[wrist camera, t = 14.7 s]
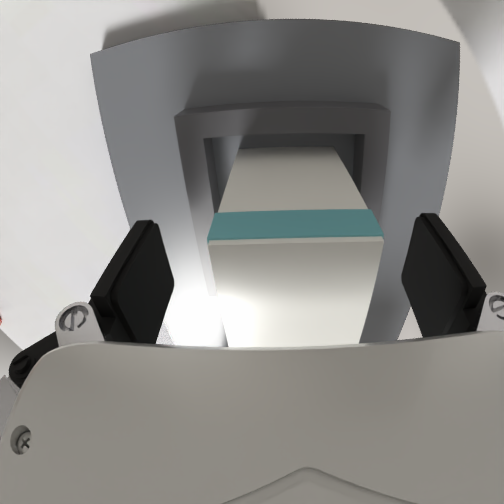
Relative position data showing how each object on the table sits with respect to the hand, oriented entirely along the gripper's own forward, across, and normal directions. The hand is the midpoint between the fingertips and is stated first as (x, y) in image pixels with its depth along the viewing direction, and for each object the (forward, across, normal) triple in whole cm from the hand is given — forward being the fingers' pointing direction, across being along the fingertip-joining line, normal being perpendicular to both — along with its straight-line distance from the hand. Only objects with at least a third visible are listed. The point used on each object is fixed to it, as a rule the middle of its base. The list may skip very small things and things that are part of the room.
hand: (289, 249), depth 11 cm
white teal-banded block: (+4, 0, 0) cm, 4 cm away
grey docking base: (+5, 0, +9) cm, 10 cm away
